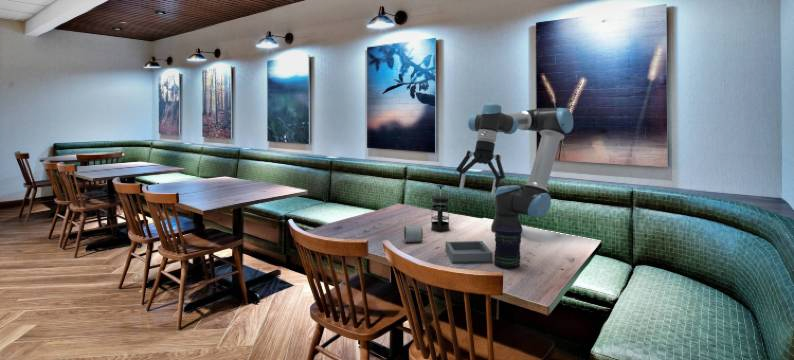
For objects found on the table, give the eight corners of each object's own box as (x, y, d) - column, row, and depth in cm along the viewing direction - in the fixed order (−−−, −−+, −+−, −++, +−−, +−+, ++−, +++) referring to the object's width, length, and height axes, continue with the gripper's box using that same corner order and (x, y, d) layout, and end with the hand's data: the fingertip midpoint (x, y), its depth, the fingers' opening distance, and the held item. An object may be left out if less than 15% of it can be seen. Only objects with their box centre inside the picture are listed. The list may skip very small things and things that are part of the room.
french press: (431, 226, 219) (432, 183, 216) (449, 227, 218) (450, 183, 214) (429, 232, 208) (430, 187, 204) (448, 233, 206) (449, 187, 203)
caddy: (481, 249, 181) (482, 240, 180) (492, 262, 165) (492, 252, 164) (445, 250, 180) (445, 241, 179) (452, 263, 164) (452, 253, 164)
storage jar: (490, 260, 167) (492, 224, 165) (514, 260, 168) (516, 224, 165) (498, 270, 157) (499, 231, 155) (523, 269, 158) (525, 231, 155)
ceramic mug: (423, 243, 190) (423, 227, 189) (405, 244, 189) (405, 227, 188) (419, 237, 200) (419, 221, 199) (402, 238, 199) (402, 222, 198)
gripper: (454, 136, 174) (445, 186, 174) (514, 143, 162) (504, 197, 162) (460, 139, 180) (451, 187, 180) (518, 146, 168) (508, 197, 169)
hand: (476, 192), depth 171 cm, fingers open, 13 cm apart
